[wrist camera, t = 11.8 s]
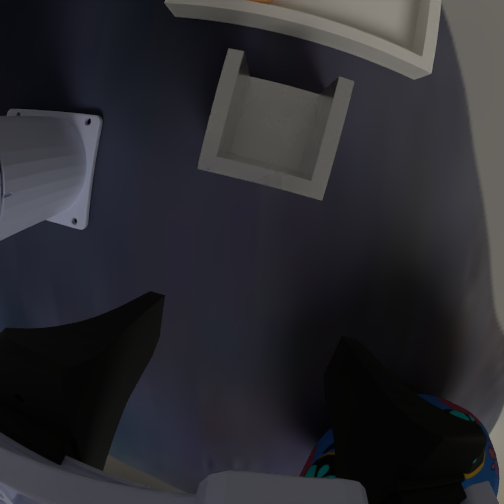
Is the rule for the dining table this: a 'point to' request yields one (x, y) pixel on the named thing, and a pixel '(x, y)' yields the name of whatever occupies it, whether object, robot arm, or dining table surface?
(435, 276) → the dining table surface
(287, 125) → the silver open box
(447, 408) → the ceramic pot
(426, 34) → the tray
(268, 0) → the ball
